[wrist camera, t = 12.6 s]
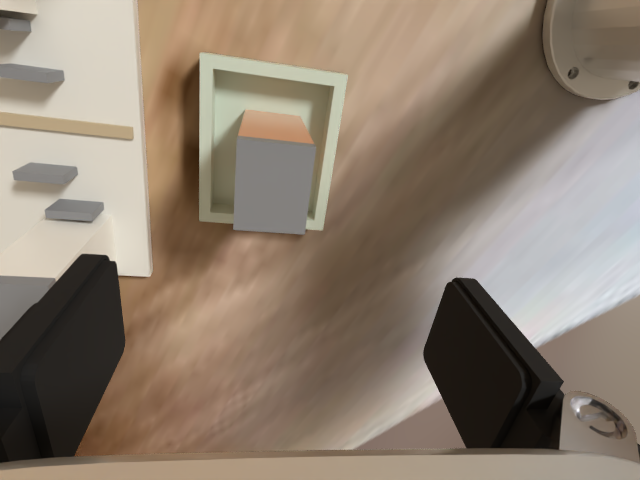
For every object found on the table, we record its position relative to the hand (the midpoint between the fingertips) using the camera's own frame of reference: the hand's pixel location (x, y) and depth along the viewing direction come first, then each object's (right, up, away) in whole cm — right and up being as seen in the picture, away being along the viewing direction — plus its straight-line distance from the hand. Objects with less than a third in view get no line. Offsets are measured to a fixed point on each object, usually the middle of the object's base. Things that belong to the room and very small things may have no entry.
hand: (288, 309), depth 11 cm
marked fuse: (-3, +9, +18) cm, 20 cm away
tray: (-3, +9, +19) cm, 21 cm away
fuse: (-18, +2, +19) cm, 26 cm away
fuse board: (-18, +10, +16) cm, 26 cm away
